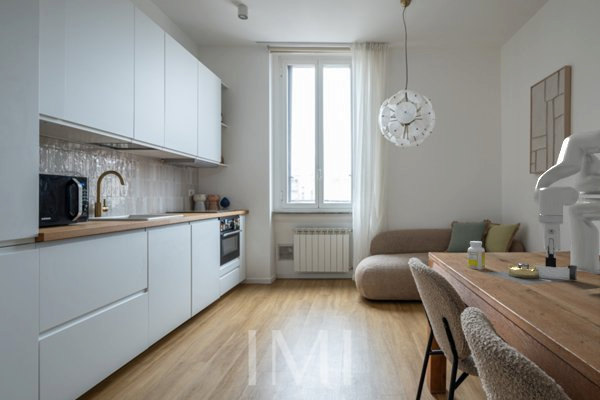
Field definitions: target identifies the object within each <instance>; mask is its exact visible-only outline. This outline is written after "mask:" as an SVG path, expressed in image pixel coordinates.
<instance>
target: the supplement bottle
mask: <svg viewBox="0 0 600 400" xmlns="http://www.w3.org/2000/svg"><path fill="white" fill-rule="evenodd" d="M469 245H470V247H468V248H467V269H472V270H485V269H486V259H485V258H486V256H485V255H486V250H485V248H484V247H482V246H483V241H479V240H477V241H476V240H470V241H469Z"/></svg>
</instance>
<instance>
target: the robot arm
mask: <svg viewBox="0 0 600 400" xmlns="http://www.w3.org/2000/svg"><path fill="white" fill-rule="evenodd" d="M595 154H600V129H598V130H590V131H581V132H576V133H573V134H571V135H569V136H567V137H566V138H564V140H563V141H562V144H561V148H560V151H559V153H558V157H557V160H556V164H555V165H553V166H552V167H550V168H549V169H547V170H546V171H545V172H544V173H543V174H542V175H540V177H539V178H538V179H537V182H536V184H535V186H534V191H533V201H534V203H535V204H536V205H538V224H541V227H542V243H543V249H544V250H545V256H544V258H545V259H544V260H545V265H544V266H552V267H557V258H556V250H557V251H558V252H560V251H561V249H562V248H561V227H560V225H564V207H567V212H568V217H569V223H570V225H569V227H570V265H575V266H577V272H582V273H588V274H593V275H600V231H599V228H598V227H597V226H596V225H595V223H594V222H593V221H596V222H597V221H598V222H599V221H600V197H580V196H600V159H599V157H598V156H597V155H595ZM571 176H574V187H572V186H552V185H553V184H555V183H556V182H558V181H561V180H564V179H566V178H569V177H571ZM565 268H568V266H566V267H565Z"/></svg>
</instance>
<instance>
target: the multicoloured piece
mask: <svg viewBox="0 0 600 400" xmlns="http://www.w3.org/2000/svg"><path fill="white" fill-rule="evenodd" d="M507 266H508V270H507V271H508V275H510V276H512V277H517V278H525V279H537V278H539V277H546V278H557V279H564V280H569V281H570V280H571V281H577V273H578V271H577V266H575V265H571V264H568V265H567V267H568V268H566V267H564V266H563V267H561V266H556V267H552V266H545V265H538V264H537V265H536V264H535V265H533V266H530V264H529V263H525V262H518V263H517V265H514V263H508V264H507Z"/></svg>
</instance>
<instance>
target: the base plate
mask: <svg viewBox="0 0 600 400" xmlns="http://www.w3.org/2000/svg"><path fill="white" fill-rule="evenodd" d="M482 273H483V274H485V275H490V276H492V277H493V276H494V277H498V278H501V279H505V280H508V281H511V282H515V283H518V284H519V283H520V284H523V285H532V284H544V283H545V284H547V283H558V282H559V283H560V282H569V281H570V280H568V279H557V278H546V277H539V278H537V279H525V278H517V277H512V276H510V275H508V270H500V271H486V272H485V271H484V272H482Z"/></svg>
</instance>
